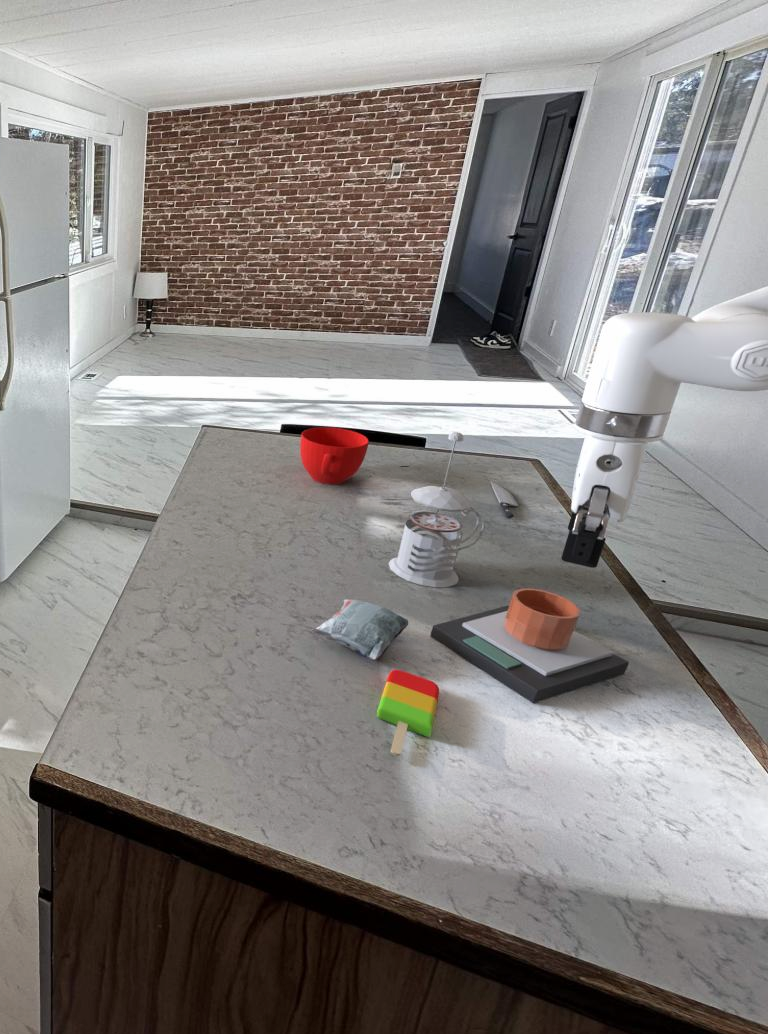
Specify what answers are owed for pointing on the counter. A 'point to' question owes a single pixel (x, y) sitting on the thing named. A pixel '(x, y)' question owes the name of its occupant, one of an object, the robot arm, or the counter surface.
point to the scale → (527, 657)
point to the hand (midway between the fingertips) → (581, 547)
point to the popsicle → (408, 705)
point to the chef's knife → (504, 499)
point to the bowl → (541, 619)
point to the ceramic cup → (332, 453)
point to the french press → (422, 560)
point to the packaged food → (363, 628)
